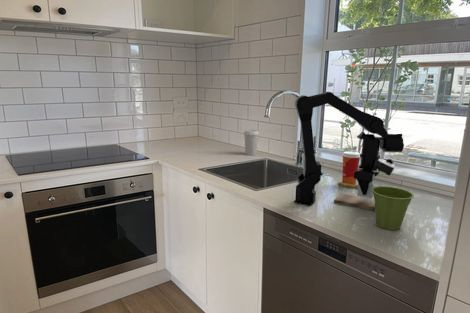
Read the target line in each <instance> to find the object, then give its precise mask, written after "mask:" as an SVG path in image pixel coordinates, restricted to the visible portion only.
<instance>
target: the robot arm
mask: <svg viewBox="0 0 470 313" xmlns="http://www.w3.org/2000/svg"><path fill="white" fill-rule="evenodd" d="M294 105H295V109H296V113H297V115H298V119H299V122H300V129H301V130H300V131H301V138H302V139H301V140H302V148H303V157H304V158H303V160H304V161H303V165H302V167H303V168H302V173H301V174H299V175H298V176H297V177H296V180H297V184H296V186H295V196H294V197H295V199H294V200H293V203H294V204H298V205H304V206H308V207H310V206H312V205H313V204H314V203H315V202H316V198H317V197H316V196H317V195H316V194H317V191H316V185H317V184H319V183H320V181H321V178H322V177H323V173H322V164H321V162H320V161H319V160H317V159H316V153H315V142H314V134H313V124H312V119H313V114H314V113H313V112H314V109H315V108H318V107H320V106H324V105H329V106H331V107H332V108H334V109H336V110H337V111H339V112H341V113H342V114H344V115H346V116H347V117H349V118H350V119H352V120H354V121H355V122H356V123H357V124H358V125H359V126H360V127H361V128H362V129H363V130H365V131H367V132H369V133H365V131H361V132H360V134H358V135H356V138H357V139H359V140H362V144H361V153H360V162H359V165H358V170H357V171H355V172H354V177H353V178H354V179H356V182H357V183H359V186H360V188H361V191H362V194H363V195H366V194H367V191H368V187H369V184H370V182H374V180H375V179H376V178H375V177H377V176H379V174H380V172H382V173H384V174H385V175H387V176H391V175H392V174H393V172H394V170H395V168H396V164H394V159H391V158H390V157H389V158H387V159H386V160H385V159H382V158H381V154H380V150H382V152H383V153H402V152H403V150H404V148H405V143H404V138H403V133H400V132H394V133H392V132H388V131H387V130H386V128H385V127H384V126H385V123H384V120H383V119H382V118H381V117H379V116H375V115H373V114H371V113H368V112H365V111H362V110H361V109H358V108H357V107H356V106H353V105H352V104H350V103H349V102H347V101H345V100H344V99H342V98H340V97H339V96H337V95H335V94H334V93H333V92H332V91H325V92H323V93H318V94H315V95H314V94H313V95H310V96H309V95H303V94H302V95H300V96H298V97H297V98H296V99H295V101H294ZM370 133H371V134H370ZM375 134H376V135H378V136H375ZM316 160H317V161H316ZM377 171H378V172H377Z"/></svg>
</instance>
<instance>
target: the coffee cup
mask: <svg viewBox="0 0 470 313" xmlns="http://www.w3.org/2000/svg"><path fill="white" fill-rule="evenodd" d="M259 134H260V133H259V130H258V129H245V130H244V132H243V136H244V147H245V148H244V149H245V155H247V156H256V155H257V149H258V142H259V141H258V140H259Z"/></svg>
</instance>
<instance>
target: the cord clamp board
mask: <svg viewBox="0 0 470 313" xmlns="http://www.w3.org/2000/svg"><path fill="white" fill-rule="evenodd" d="M379 186H380V185H378V186H377V187H379ZM337 187H340V188H343V189H350V190H355V191H358V185H357V184H355V185H351V184H345V183H342V182H338V183H337ZM333 203H334V204H337V203H338V205H343V206H348V207H354V208H359V209H364V210H369V211H373V212H375V199H374V198H366V197H360V196H357V195H352V194H348V193H347V194H346V193H342V192H341V193H340V194H338V195H337V196H336V197H335V198H334V199H333Z"/></svg>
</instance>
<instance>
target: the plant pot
mask: <svg viewBox="0 0 470 313" xmlns="http://www.w3.org/2000/svg"><path fill="white" fill-rule="evenodd" d="M378 186H379V187H378ZM378 186H375V187H374V188H372V192H373V193H374V196H373V199H375V211H374V213H375V215H374V216H375V225H377V227H380V228H381V229H388V230H389V231H397V230H400V229H401V227H402V225H403V221H404V218H405V216H406V212H407V210H408V207H409V205H410V204H411V201H412V199H413V198H415V194H414V193H412V192H411V191H410V190H407V189H403V188H400V187H395V186H382V185H378Z"/></svg>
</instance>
